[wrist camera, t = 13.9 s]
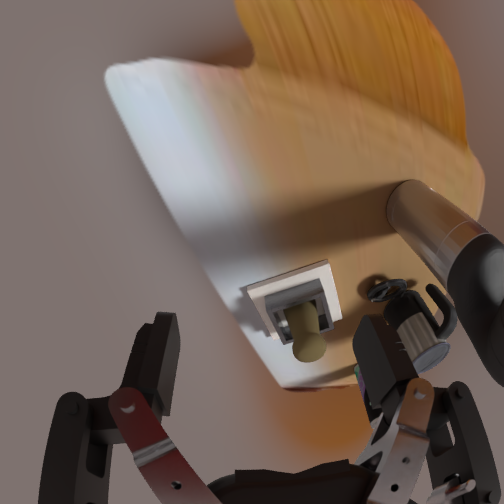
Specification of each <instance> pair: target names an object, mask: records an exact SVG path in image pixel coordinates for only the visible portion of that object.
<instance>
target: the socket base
mask: <svg viewBox="0 0 504 504" xmlns="http://www.w3.org/2000/svg"><path fill="white" fill-rule="evenodd" d="M318 278H320V281H321V284H322V286H323V289H324V292H325V296H326V299H327V303H328V306H329V310H330V314H331V318H332V321H333V322H334V321H337V320H340V319H342V314H341V310H340V305H339V301H338V296H337V292H336V288H335V284H334V280H333V276H332V272H331V268H330V264H329V262H328V259H327V260H324V261H321V262H318V263H315V264H312V265H309V266H306V267H304V268H301V269H298V270H295V271H292V272H289V273H286V274H283V275H280V276H277V277H274V278H271V279H268V280H265V281H262V282H259V283H256V284H253V285H249V286H247V292H248V294H249V295H250V297H251V299H252V301H253V303H254V305H255V307H256V309H257V310H258V312H259V314H260V316H261V318H262V320H263V321H264V323H265V325H266V327H267V329H268V331H269V333H270V334H271V336H272V338H273V340H277V339H280V337H279V335H278V334H277V332H276V330H275V328H274V326H273V324H272V322H271V320H270V318H269V316H268V314H267V312H266V307H265V298H264V296H267V295H270V294H273V293H276V292H279V291H282V290H285V289H288V288H291V287H294V286H297V285H300V284H303V283H306V282H309V281H312V280H315V279H318ZM315 301H316V304H317V313H318V316H320V315H323V314H325V312H324V309H323V305H322V302H321V298H320V297H319V298H316V299H315ZM277 313H278V315H279V317H280V319H281V322H282V324H283V326H284V327H286V326H288V323H287V320H286V318H285V315H284V312H283V309H282V310H279V311H277Z"/></svg>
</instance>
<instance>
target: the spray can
mask: <svg viewBox="0 0 504 504" xmlns="http://www.w3.org/2000/svg"><path fill="white" fill-rule="evenodd" d="M354 371H355V374H356V378H357V381H358V384H359V387H360V391H361V394H362V397H363V401H364V404H365V407H366V411H367V414H368V417H369V421H370V425H371V427H372V428H375V426H376V424H377V421H378V419H379V417H380V414H381V413H382V412H383V411H382V408H376V409H372V406H371V403H370V399H369V396H368V393H367V390H366V387H365V384H364V381H363V377H362V374H361V371H360V368H359V365H358V364H357V365H356V366H355V367H354Z"/></svg>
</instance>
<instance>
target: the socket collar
mask: <svg viewBox="0 0 504 504" xmlns="http://www.w3.org/2000/svg"><path fill="white" fill-rule="evenodd" d="M319 297H320V298H321V302H322V305H323V309H324V312H325V314H323V315H320V316H318V322H319V331H320V334H321V333H324V332H327V331H330V330H333V329H334V325H333V321H332V318H331V314H330V310H329V306H328V303H327V299H326V296H325V292H324V289H323V286H322V284H321V281H320V278H318V279H315V280H312V281H309V282H306V283H303V284H300V285H297V286H294V287H291V288H288V289H285V290H282V291H279V292H276V293H273V294H270V295H267V296H264V298H265V307H266V312H267V314H268V316H269V318H270V320H271V322H272V324H273V326H274V328H275V330H276V332H277V334H278V335H279V337H280V339H281V341H282V343H283V345H285V344H288V343H292V342H294V339H293V337H292V334H291V331H290V328H289V326H286V327H284V326H283V324H282V322H281V319H280V317H279V315H278V313H277V311H279V310H282V309H286V308H289V307H292V306H295V305H298V304H301V303H304V302H307V301H310V300H313V299H316V298H319Z"/></svg>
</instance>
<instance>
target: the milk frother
mask: <svg viewBox="0 0 504 504" xmlns="http://www.w3.org/2000/svg"><path fill="white" fill-rule="evenodd" d="M390 286H399V288H398V289H397V290H396V291H395V292H393V293H391V294H389V295H386V296H384V295H385V294H386V293H387V290H388V289H390ZM406 288H407V283H406V281H405V280H403V279H392V280H388V281H384V282H381V283H379V284H377V285H375V286H373V287H372V288H371V289H370V290H369V291H368V293H367V296H368V299H369V300H370V301H371V302H383V301H386V300H389V299H392V298H393V299H392V300H391V301H390V302H389V303H388V305H387V306H386V308H385V310H384V318H385V320H386V321H388V323H389V325H391V326H392V327H393V328H394V329H395V330H396V331H397V332H398V334H399V336H400V338H401V340H402V343H403V344H404V346H405V348H406V349H405V350H407V353H408V355H409V357H410V359H411V361H412V363H413V365H414V368H415V370H416V372H417V374H419V373H423V372H425V371H427V370H430V369H431V368H433V367H434V366H436V365H437V364H438V363H440V362H441V361H442V360H443V359H444V358H445V356H447V354H448V353H449V351H450V344H449V343H447V342H446V339H447V338H448V337H449V336H450V334H451V333H452V332H453V331H454V329H455V327H456V324H457V313H456V309H455V308H454V306H453V305H452V304H451V303H450V301H449V300H448V299H447V298H446V297H445V295H444V294H443V293H442V292H441V291H440V290H439V289H438V287H437V286H435V285H433V284H428V285H427V286H426V291H427V293H428V294H429V295H430V297H431V298H432V299H433V300H434V302H435V303H436V304H437V306H438V307H439V308H440V310H441V311H442V312H443V314H444V320H443V323H442V325H441V326H439V325H438V323H437V321H436V320H435V318H434V316H433V315H432V313H431V312H430V310H429V308H428V307H427V305H426V303H425V302H424V300H423V299H422V298H421V297H420V294H419V293H418V292H416V291H413V290H409V291H406Z"/></svg>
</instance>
